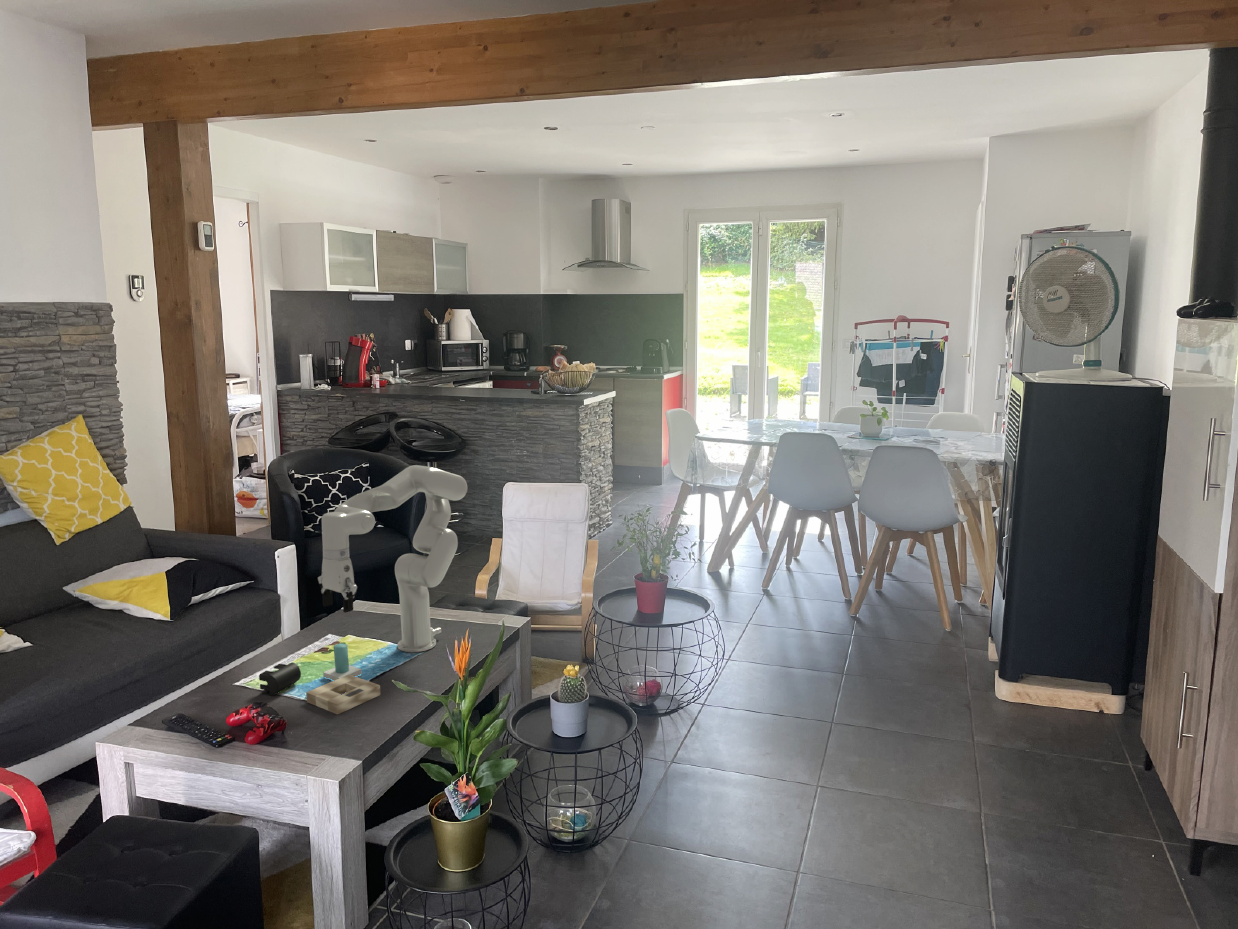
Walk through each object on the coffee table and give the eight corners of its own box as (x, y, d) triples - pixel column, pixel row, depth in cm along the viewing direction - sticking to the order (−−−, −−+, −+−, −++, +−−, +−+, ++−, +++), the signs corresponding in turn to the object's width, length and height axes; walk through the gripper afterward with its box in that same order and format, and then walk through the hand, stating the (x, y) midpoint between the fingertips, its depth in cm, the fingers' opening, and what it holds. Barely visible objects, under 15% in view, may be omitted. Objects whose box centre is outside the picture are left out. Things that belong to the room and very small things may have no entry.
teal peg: (343, 667, 271) (341, 642, 269) (351, 670, 269) (350, 645, 267) (332, 671, 268) (330, 646, 266) (341, 674, 265) (339, 649, 264)
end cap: (278, 698, 254) (276, 676, 253) (259, 694, 257) (257, 673, 256) (302, 684, 264) (300, 663, 262) (283, 681, 266) (281, 660, 265)
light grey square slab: (345, 669, 274) (344, 663, 274) (361, 675, 269) (361, 669, 269) (323, 678, 268) (323, 672, 267) (340, 684, 263) (339, 678, 263)
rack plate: (349, 683, 264) (349, 674, 263) (380, 695, 256) (379, 685, 255) (306, 702, 251) (306, 692, 251) (337, 714, 243) (336, 704, 243)
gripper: (364, 555, 260) (366, 610, 263) (328, 546, 270) (330, 600, 273) (344, 560, 254) (346, 617, 257) (307, 551, 264) (309, 606, 267)
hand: (338, 608), depth 265 cm, fingers open, 9 cm apart
